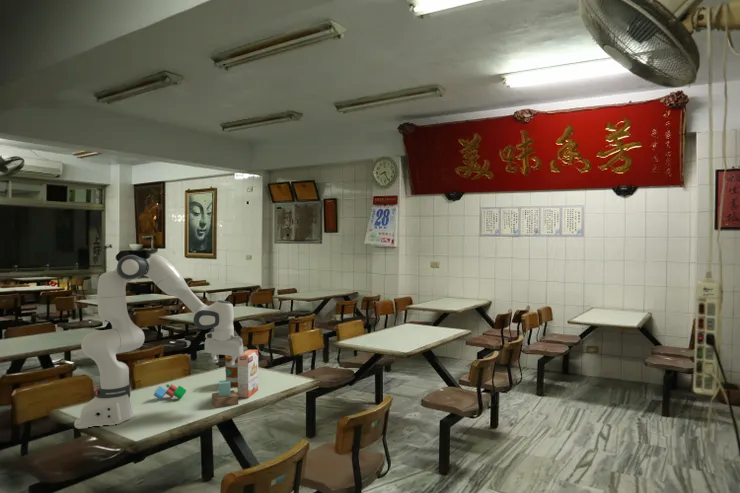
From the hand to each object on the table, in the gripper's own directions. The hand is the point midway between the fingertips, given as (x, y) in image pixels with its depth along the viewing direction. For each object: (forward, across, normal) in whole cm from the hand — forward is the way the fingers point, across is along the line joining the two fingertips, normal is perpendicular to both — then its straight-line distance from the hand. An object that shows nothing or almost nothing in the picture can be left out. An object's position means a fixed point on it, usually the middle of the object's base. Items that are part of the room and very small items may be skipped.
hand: (223, 363), depth 232 cm
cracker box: (+19, -3, -16) cm, 25 cm away
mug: (+19, +11, -28) cm, 36 cm away
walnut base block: (+18, -1, 0) cm, 19 cm away
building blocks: (+20, +28, +5) cm, 35 cm away
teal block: (+14, -1, 0) cm, 15 cm away
